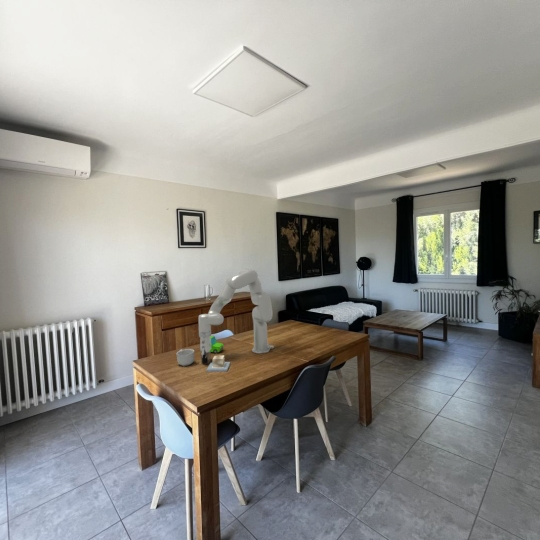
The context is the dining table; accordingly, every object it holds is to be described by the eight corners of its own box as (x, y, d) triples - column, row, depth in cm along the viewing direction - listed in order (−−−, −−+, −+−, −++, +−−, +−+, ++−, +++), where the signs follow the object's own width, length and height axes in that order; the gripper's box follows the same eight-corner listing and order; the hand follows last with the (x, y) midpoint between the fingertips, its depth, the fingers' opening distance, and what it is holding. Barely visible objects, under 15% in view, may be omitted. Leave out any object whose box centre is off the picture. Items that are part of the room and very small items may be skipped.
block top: (210, 360, 182) (210, 351, 181) (208, 363, 177) (208, 354, 176) (203, 361, 182) (202, 351, 181) (201, 363, 177) (200, 354, 176)
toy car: (219, 354, 194) (218, 340, 193) (201, 353, 197) (200, 339, 196) (224, 349, 204) (224, 336, 203) (207, 348, 207) (207, 335, 206)
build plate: (230, 363, 176) (230, 361, 176) (226, 371, 164) (226, 369, 164) (211, 364, 176) (211, 361, 176) (206, 371, 164) (206, 369, 164)
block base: (224, 363, 173) (224, 355, 173) (222, 367, 167) (222, 358, 167) (214, 363, 173) (214, 355, 173) (212, 367, 167) (212, 359, 167)
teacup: (196, 365, 175) (196, 352, 175) (178, 368, 170) (178, 355, 169) (191, 358, 187) (190, 346, 187) (174, 361, 182) (173, 349, 181)
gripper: (207, 337, 170) (208, 367, 171) (213, 330, 187) (214, 357, 188) (195, 337, 170) (196, 367, 171) (202, 330, 187) (203, 357, 188)
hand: (205, 361), depth 179 cm, fingers closed on block top, 4 cm apart
